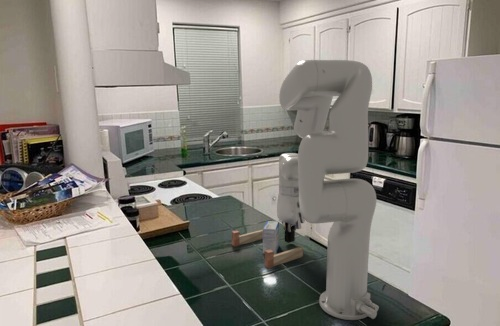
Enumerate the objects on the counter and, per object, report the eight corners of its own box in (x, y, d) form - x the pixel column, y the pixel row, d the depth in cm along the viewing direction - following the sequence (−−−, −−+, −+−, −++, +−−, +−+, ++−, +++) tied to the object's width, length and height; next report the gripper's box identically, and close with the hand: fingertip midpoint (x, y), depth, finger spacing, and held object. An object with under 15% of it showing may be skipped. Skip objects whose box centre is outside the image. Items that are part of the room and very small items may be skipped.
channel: (303, 257, 117) (303, 242, 116) (268, 268, 109) (268, 252, 108) (264, 236, 134) (264, 223, 133) (231, 245, 126) (231, 231, 125)
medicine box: (276, 255, 118) (276, 229, 117) (262, 254, 119) (262, 228, 118) (279, 245, 126) (279, 221, 124) (266, 244, 127) (266, 220, 125)
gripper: (313, 192, 119) (312, 246, 122) (284, 184, 132) (284, 232, 135) (295, 196, 115) (295, 251, 118) (268, 187, 127) (268, 236, 131)
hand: (289, 241), depth 127 cm, fingers closed
